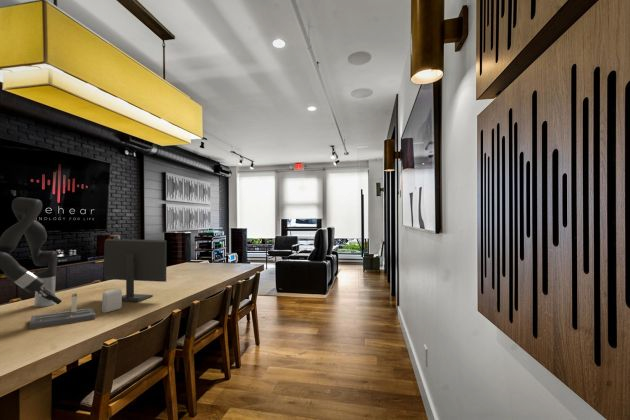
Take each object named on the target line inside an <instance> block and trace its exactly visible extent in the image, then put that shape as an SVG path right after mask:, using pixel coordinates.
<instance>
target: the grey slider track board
mask: <svg viewBox="0 0 630 420" xmlns="http://www.w3.org/2000/svg"><path fill="white" fill-rule="evenodd" d="M76 310H77V312H74V313H70V311H71V310H65V311H57V312H51V313H50V312H49V313H41V314H34V315H31V317H30V321H29V325H28V329H29V330H34V329H39V328H47V327H52V326H58V325H59V324H60V325H65V324H71V323H78V322H84V321H90V320H95V319H96V312H95V309H94V307H87V308H81V309H79V308H78V309H76Z"/></svg>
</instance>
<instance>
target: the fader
mask: <svg viewBox="0 0 630 420" xmlns="http://www.w3.org/2000/svg"><path fill="white" fill-rule="evenodd" d="M77 298H78V293H72V294H71V308H70V309H71V310H69V311H70V313H74V312H77V310H78V309H77V304H78V303H77V302H78V299H77Z"/></svg>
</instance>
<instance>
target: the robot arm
mask: <svg viewBox="0 0 630 420" xmlns="http://www.w3.org/2000/svg"><path fill="white" fill-rule="evenodd" d="M11 210H12V212H13V214H14V216H15V218H16V219H17V221H18V222H16V223H14V224H13V225H12V226H10V227H8V228H7V229H5V231H4V232H3V233H2V234H1V236H0V270H1V271H2V272H3V273H4V276H5V278H7V279H9V281H12V282H13V283H14V284H16V285H17V286H18V287H20V288H21V289H23V290H24V291H26V292H27V293H29V294H33V293H34V307H35V308H42V307H50V306H53V305H55V304H56V305H59V304H61V303H62V300H61V299H60V298H59V297H57V296H56V277H57V274H56V273H57V268H58V267H57V266H58V256H59V255H58V252H57V251H55V250H41V247H42V246H43V245H44V243H45V242H46V241H47V239H48V234H47V230H46V229H45V226H44V225H42V223H40V222H39V221H38V220H36V219H37V218H38V216H39V215H40V213H41V212H42V210H43V202H42V200H40V199H38V198H31V197H22V196H19V197H16V198H14V199H13V200H12V202H11ZM23 235H24V237H25V240H26V242H27V245H28V247H29V250H30V253H31V258H32V262H33V264H34V265H35V266H36V267H47V268H46V269H44V270H42V271H39V272H37V273H36V274H35V273H33V272H31V271H29V270H28V269H27V268H25V267H23V266H22V265H21V264H20V263H19V262H18V261H17V260H16V259H15V258H14V257H13V256H12V255H11V254H12V252H14V250H15V249H16V247H17V246H18V244H19V242H20V241H21V239H22V237H23Z"/></svg>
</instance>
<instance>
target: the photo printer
mask: <svg viewBox="0 0 630 420" xmlns="http://www.w3.org/2000/svg"><path fill="white" fill-rule="evenodd" d="M122 296H123V291H122V289H121V288H111V289H108V290H106V291H104V292H102V298H101V299H102V301H101V312H102V313H104V314H106V313H109V312H113V311H117V310H121V309H122V308H123V307H122V304H123V303H122V302H123V301H122Z"/></svg>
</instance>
